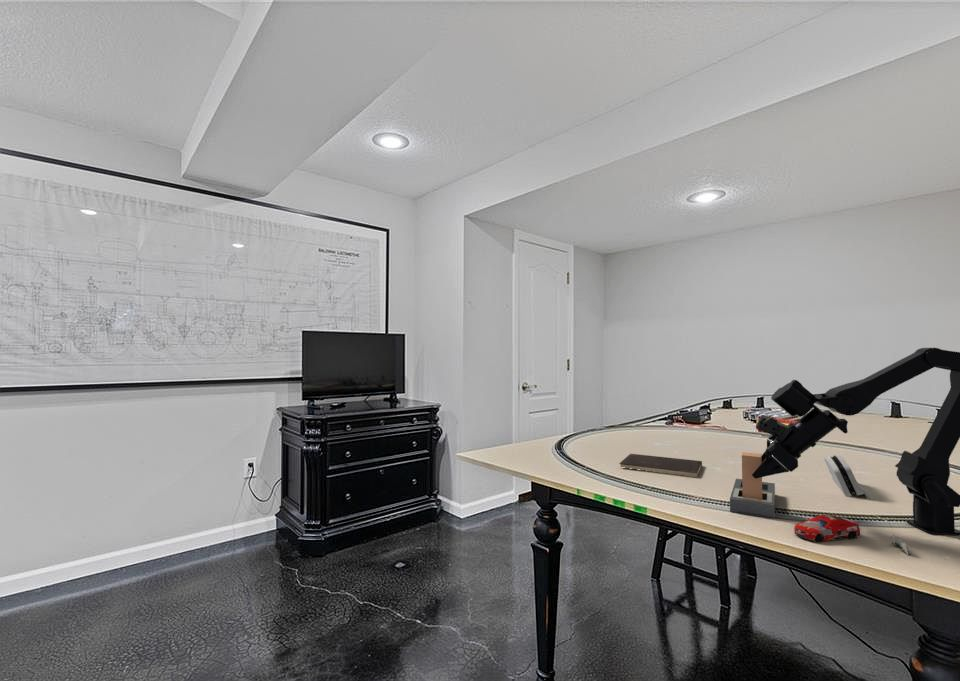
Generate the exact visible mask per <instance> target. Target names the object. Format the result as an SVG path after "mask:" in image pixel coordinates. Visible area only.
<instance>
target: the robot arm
mask: <svg viewBox="0 0 960 681" xmlns="http://www.w3.org/2000/svg"><path fill="white" fill-rule="evenodd" d="M933 368H937V369H943V370H946V371H950V373H949V383H950V388H949V391H948V393H947V395H946V397H945V399H944V401H943V402H942V405H941V407H940V409H939V410H938V412H937V414H936V416H935V417H934V420H933V422H932V424H931V425H930V427H929V430H928V432H927V434H926V436H925V438H924V439H923V441H922V443H921V445H920V446H919V448H917V449H916V450H915V451H913V452H909V451H907V450H904V451H903V452H902V453H901V457H900V460H899V461H898V462H897V464H895V465H894V467H895V468H897V470H896V477H897V478H898V481H899V482H900V483H901V484H902V485H904V486H905V487H906V489H907V492H908V493H909V494H911V495H912V496H913V500H912V519H906V520H905V521H906V522H907V524H908V523H909V524H908V525H910V524H911V525H910V526H913V527H915V528H917V529H919V530H921V531H922V532H923V531H924V532H926V533H927V534H931V535H933V534H934V535H957V536H958V535H959V536H960V530H959V529H957V528H955V527H956V526H955V508H960V494H959V493H958V492H957V491H955V489H953V488H952V487H951V486H950V485H948V483H949V480H950V476H951V475H950V474H951V469H950V468H951V467H950V457H951V455H952V453H953V452H954V450H955V448H956V447H957V446H956V445H957V444H958V442H959V440H960V351H953V350H952V351H951V350H947V349H941V348H940V347H921V348H918V349H916V350H915V351H914V352H913V353H911V354H908V355H907V356H905V357H903V358H901V359H900V360H897V361H895V362H893V363H892V364H890V365H887V366H885V367H883V368H882V369H880V370H878V371H877V372H874V373H872V374H871V375H869V376H867V377H865V378H861V379H860V380H855V381H852V382H848V383H844V384H841V385H838V386H835V387H833V388H830V389H828V390H827V391H826V392H824V393H815V394H813V393H812V392H811V391H809V390H808V389H807V388H806V387H805V386H803V384H802V383H801V382H800V381H799V380H797V379H792V380H791V381H790V382H788V383H786V384H784V385H783V386H781V387H779V388H778V389H777V390H776V391H775V392H774V393H773V394H772V395H771V397H770V399H771V400H772V401H773V402H774V403H775V404H777V406H779V407H780V408H781V409H782V410H783V411H785V412H786V413H787V414H788V415H790V416H791V417H795V416H798V417H799V419H798V420H797V421H795V422H790V423H789V424H788V425H787V424H785V423H782V422H780V421H778V419H777V418H776V419H775V418H773V417H772V416H768V415H765V414H761V416H760V417H759V419H758V420H757V422H756V425H755V429H756V430H759V431H761V432H762V431H763V432H765V433H767V434H769V436H768V439H767V440H766V448H765V451H764V452H763V453H761V454H762V463H761V464H760V466H759V467H758V468H757V469H756V470H755V471H754V473H753V474H752V476H753V477H754V478H755V479H756V478H761V477H762V478H764V477H765V478H766V477H768V476H774V475H779V474H784V473H789V472H790V473H792V472H793V471H795V470H796V469H798V467H799V458H801V457H802V454H803V453H804V452H806V451H808V449H810V448H814V447H815V446H817V443H818V441H821V439H823V438H824V437H825V436H826V435H828V434H830V432H833V431H834V430H835V429H836V428H837V429H839V430H840V431H841V432H842V433H844V434H848V433H849V432H848V420H847V419H846V418H839V417H837V415H835V414H834V413H836V414H840V415H843V416H848V417H849V416H850V417H851V416H854V415H855V416H856V415H857V414H859V413H861V412H862V411H863V410H865V409H866V408H867V407H869V406H871V404H873V402H874V401H875V400H876V399H877V398H878V397H880V396H881V395H882V394H884V393H886V392H887V391H890V390H892V389H894V388H896V387H898V386H899V385H902V384H904V383H905V382H908V381H910V380H911V379H913V378H915V377H917V376H919V375H922V374H923V373H926V372H928V371H929V370H931V369H933ZM815 404H816V405H815ZM817 405H818V406H821V407H824V408H827V409H829V410H827V409H826V410H825V409H824V410H822V409H820V408H819V407H818V406H817ZM833 412H834V413H833ZM906 522H905V523H906Z"/></svg>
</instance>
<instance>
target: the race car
mask: <svg viewBox="0 0 960 681" xmlns="http://www.w3.org/2000/svg"><path fill="white" fill-rule="evenodd" d="M793 531H794V532H793V533H794V534H795V535H796V536H798V537H800V538H803V539H806V540H809V541H813V542H815V543H822V542H824V541H825V542H828V541H837V540H839V541H840V540H847V539H848V540H855V539H856V538H859V537H860V536H861V528H860V526H859V524H858V522H855V521H854V520H853V521H852V520H851V519H847V518H844V517H840V516H836V515H833V514H821V515H817V516H814V517H811V518H810V517H807V520H806V521H803V522H799V523H796V524H794V527H793Z"/></svg>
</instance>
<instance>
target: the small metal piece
mask: <svg viewBox="0 0 960 681" xmlns="http://www.w3.org/2000/svg"><path fill="white" fill-rule="evenodd" d="M890 541H891V542H890V544H891V545H894V547H895V548H900V549H901V552H904V553H905V555H907V556H909V555H910V556H911V554H912V553H911V551H909V550H908V549H909V547H908V545H907V543H906V542H905V541H904V540H902V539H900V537H899V536H896V535H895V534H893V535H892V539H890Z"/></svg>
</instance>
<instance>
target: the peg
mask: <svg viewBox="0 0 960 681" xmlns="http://www.w3.org/2000/svg"><path fill="white" fill-rule="evenodd" d="M762 454H763V453H756V452H745V451H743V452H742V453H741V479H742V493H743V497H746V498H753V499H760V500H762V482H763V477H761V478H756V479H755V478H754V477H753V476H752V474H753V473H754V471H755V470H756V469H757V468H758V467H759V466H760V464H761V463H762Z"/></svg>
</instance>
